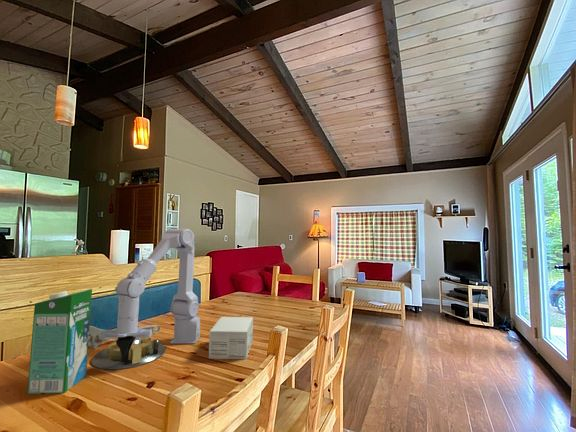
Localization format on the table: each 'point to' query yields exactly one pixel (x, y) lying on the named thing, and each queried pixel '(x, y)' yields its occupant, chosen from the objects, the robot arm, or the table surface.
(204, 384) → the table surface
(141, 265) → the robot arm
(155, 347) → the stop pin
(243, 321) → the supplement box
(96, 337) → the wrench
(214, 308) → the table surface
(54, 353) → the milk carton
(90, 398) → the table surface
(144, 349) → the golden segmented ring
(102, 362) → the cap base
